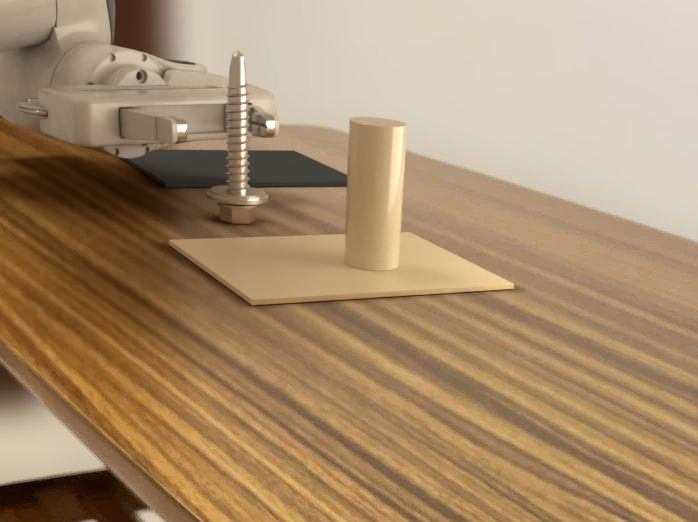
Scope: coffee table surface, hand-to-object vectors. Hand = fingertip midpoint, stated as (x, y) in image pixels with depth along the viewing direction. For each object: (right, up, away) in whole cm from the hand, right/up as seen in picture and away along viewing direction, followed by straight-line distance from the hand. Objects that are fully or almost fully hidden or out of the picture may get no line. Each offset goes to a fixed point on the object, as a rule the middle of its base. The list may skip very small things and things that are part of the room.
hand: (228, 129), depth 97 cm
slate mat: (-5, +4, +22) cm, 23 cm away
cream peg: (+12, -12, -7) cm, 19 cm away
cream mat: (+10, -12, -7) cm, 18 cm away
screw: (0, -7, +3) cm, 7 cm away
